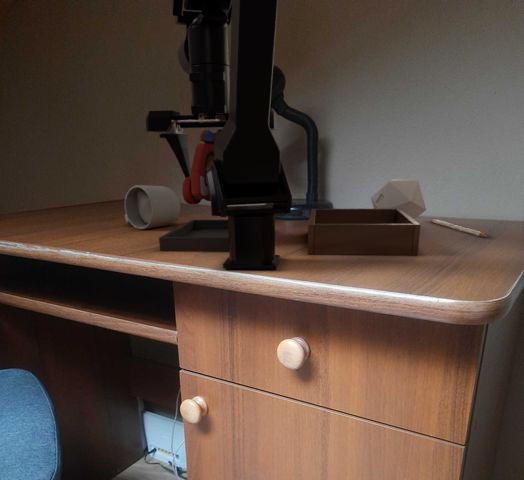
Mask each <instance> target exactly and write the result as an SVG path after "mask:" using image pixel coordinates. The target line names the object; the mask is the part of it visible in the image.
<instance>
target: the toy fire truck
mask: <svg viewBox="0 0 524 480" xmlns="http://www.w3.org/2000/svg"><path fill="white" fill-rule="evenodd" d="M215 134H216V132H213V131H211V130H210V129H204V130H203V131H201V133H200V136H199V138H200V141H201V142H202V143H201V142H199V143H197V144H196V146H195V149H194V154H193V158H192V164H191V176H189V177H187V178H185V179H184V180H183V182H182V188H181V193H182V194H181V195H182V197H183V200H184V202H185V203H187V204H188V205H198V204H200V203H201V202H202V200H204V201H207V202H211V200H210V194H209V189H208V184H207V179H206V173H207V172H208V171H209V167H210V161H211V160H214V137H215Z"/></svg>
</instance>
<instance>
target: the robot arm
mask: <svg viewBox="0 0 524 480" xmlns="http://www.w3.org/2000/svg"><path fill="white" fill-rule="evenodd" d="M278 7H279V0H171V14H172V17H174V24H175V25H177V26H178V25H179V26H185V37H184V39H182V41H181V43H180V44H179V46H178V51H177V60H178V63H179V66H180V67H181V69H182V70H183V71H184V72H185V73H186V74H187V75H188V78H189V79H188V81H189V82H190V92H191V93H190V94H191V95H190V96H191V99H190V111H191V114H184V115H183V114H181V112H180V111H177V110H172V109H168V110H165V109H164V110H149V111H148V112H147V113H146V116H145V129H146V132H147V133H156V134H159V137H158V138H159V139H164V140H166V142H167V144H168V145H169V147H170V148H171V149H170V150H172V152H173V155H174V156H175V157H176V160H177V162H178V164H179V167H180V169H181V171H182V174H183V176H184V178H185V179H186V178H187V177H189V176H191V168H192V165H191V159H190V154H189V147H188V146H189V135H188V134H184V129H214V128H218V129H217V130H216V132H215V133H216V134H215V137H214V160H211V161H210V167H209V171H208V172H207V173H206V179H207V184H208V189H209V194H210V200H211V201H210V213H211V216H212V217H220V218H227V220H228V234H229V251H228V255H229V256H228V257H227V258H226V260H225V261H224V262H223V263H222V269H226V270H227V269H228V270H229V269H230V270H231V269H232V270H235V269H236V270H241V269H242V270H276V269H277V268H278V265H279V263H280V260H281V255H280V254H276V214H277V215H278V214H285V215H288V214H291V209H292V204H293V203H292V202H293V194H292V192H291V189H290V185H289V182H288V180H287V176H286V173H285V169H284V166H283V163H282V160H281V158H282V151H281V149H280V146H279V143H278V142H277V140H276V138H275V136H274V134H273V131H278V114H277V113H276V111H275V110H274V109H273V108H272V107H271V103H272V102H271V100H272V87H273V74H274V61H275V47H276V32H277V23H278V22H277V20H278ZM183 9H184V10H183ZM229 26H230V29H229ZM229 30H230V31H229ZM219 128H220V129H219Z"/></svg>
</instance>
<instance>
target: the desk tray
mask: <svg viewBox="0 0 524 480" xmlns="http://www.w3.org/2000/svg"><path fill="white" fill-rule="evenodd" d="M158 243H159V251H160V252H161V251H162V252H229V234H228V219H191V220H188V221H187V222H185V223H183V224H181V225H180V226H178V227H176V228H174V229H172V230H170V231H168V232H167V233H165V234H163V235H161V236H159V237H158Z"/></svg>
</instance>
